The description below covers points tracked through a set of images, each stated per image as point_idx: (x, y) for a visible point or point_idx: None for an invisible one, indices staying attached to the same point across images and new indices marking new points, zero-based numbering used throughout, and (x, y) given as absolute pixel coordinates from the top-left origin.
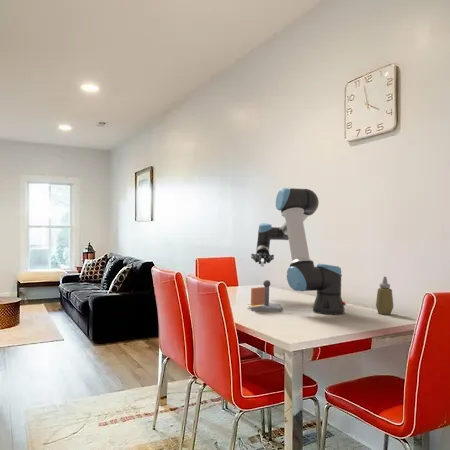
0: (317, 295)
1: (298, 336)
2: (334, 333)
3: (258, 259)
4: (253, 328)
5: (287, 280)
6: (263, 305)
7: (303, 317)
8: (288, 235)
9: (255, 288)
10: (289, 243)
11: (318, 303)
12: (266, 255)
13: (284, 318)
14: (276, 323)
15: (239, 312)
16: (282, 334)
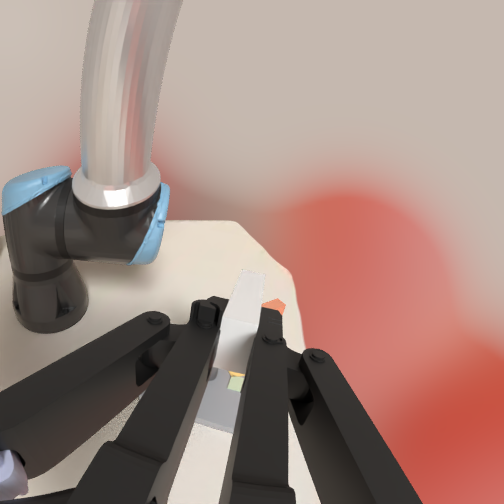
0: (70, 271)
1: (218, 228)
2: (167, 225)
3: (288, 350)
4: (269, 255)
5: (159, 247)
6: (219, 376)
7: (152, 281)
8: (165, 60)
9: (270, 301)
10: (155, 98)
11: (81, 281)
12: (75, 490)
13: (198, 283)
14: (227, 264)
15: (297, 342)
16: (235, 235)
